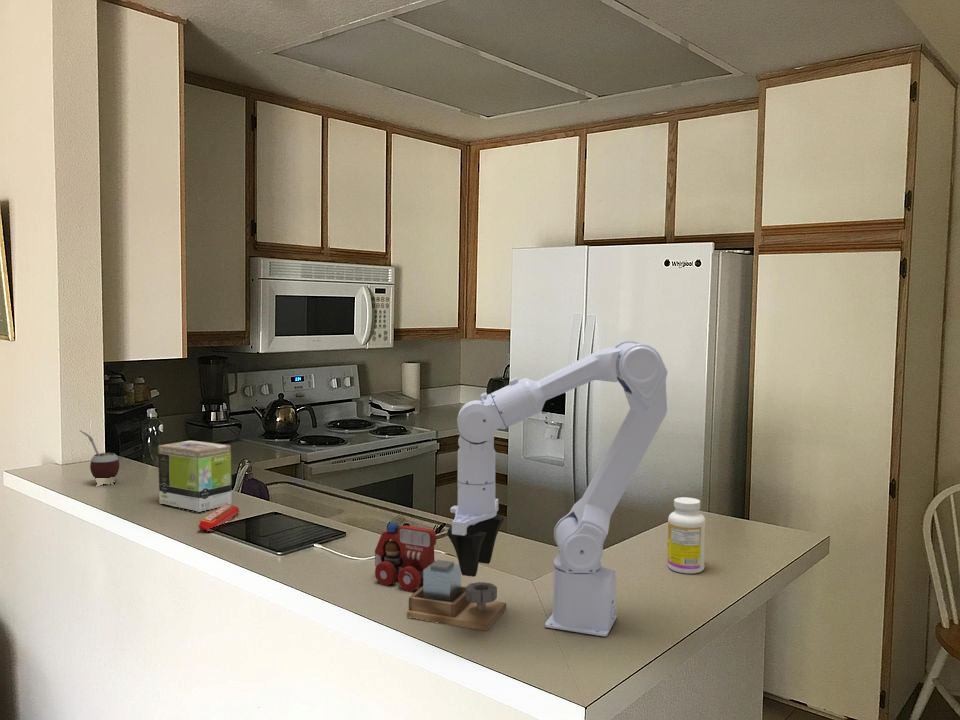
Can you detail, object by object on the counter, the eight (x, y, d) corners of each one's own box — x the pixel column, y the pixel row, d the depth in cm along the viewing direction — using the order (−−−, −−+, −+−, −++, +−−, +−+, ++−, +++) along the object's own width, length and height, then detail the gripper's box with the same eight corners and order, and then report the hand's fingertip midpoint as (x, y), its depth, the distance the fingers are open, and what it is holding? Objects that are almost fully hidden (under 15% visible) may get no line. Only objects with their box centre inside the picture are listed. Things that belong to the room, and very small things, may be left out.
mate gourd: (125, 482, 210) (124, 427, 209) (102, 489, 202) (100, 432, 201) (104, 480, 212) (103, 425, 211) (80, 486, 205) (78, 430, 204)
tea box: (233, 505, 187) (232, 444, 186) (198, 514, 179) (196, 450, 178) (193, 496, 195) (191, 438, 194) (157, 505, 187) (156, 444, 186)
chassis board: (506, 608, 124) (506, 585, 124) (486, 630, 116) (486, 605, 116) (430, 597, 129) (431, 574, 129) (406, 617, 120) (406, 593, 120)
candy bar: (212, 535, 164) (212, 521, 164) (195, 534, 164) (195, 520, 164) (241, 514, 180) (241, 501, 179) (226, 514, 180) (226, 501, 180)
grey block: (460, 601, 125) (460, 560, 124) (449, 611, 121) (449, 569, 120) (435, 597, 126) (434, 557, 126) (423, 607, 122) (423, 566, 122)
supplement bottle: (679, 560, 148) (681, 493, 147) (711, 568, 143) (713, 500, 142) (660, 568, 143) (661, 500, 142) (692, 577, 139) (694, 506, 138)
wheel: (500, 594, 122) (500, 584, 122) (490, 605, 118) (490, 594, 118) (472, 590, 124) (472, 580, 124) (461, 600, 119) (461, 590, 119)
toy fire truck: (390, 570, 142) (389, 514, 141) (446, 583, 136) (446, 524, 135) (365, 581, 136) (365, 523, 136) (422, 595, 130) (422, 534, 129)
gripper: (469, 469, 125) (469, 551, 126) (432, 489, 112) (432, 581, 113) (511, 472, 123) (510, 556, 124) (478, 493, 109) (477, 587, 110)
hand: (476, 568), depth 118 cm, fingers open, 5 cm apart
